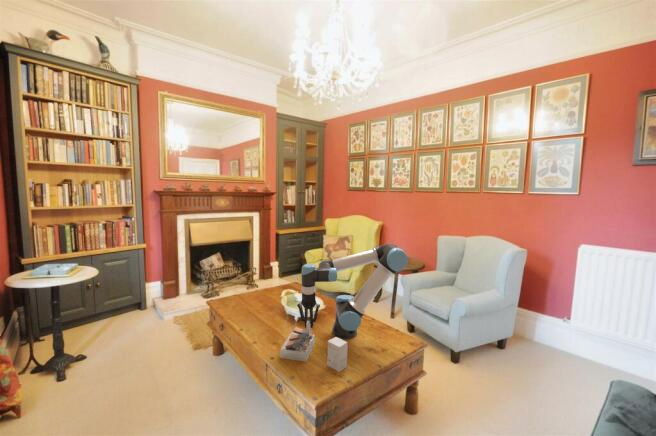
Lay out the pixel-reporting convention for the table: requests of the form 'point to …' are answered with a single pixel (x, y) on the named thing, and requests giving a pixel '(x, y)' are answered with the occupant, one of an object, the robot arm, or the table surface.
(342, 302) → the robot arm
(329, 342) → the small box
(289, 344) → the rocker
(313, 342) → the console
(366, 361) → the table surface
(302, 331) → the rocker
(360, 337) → the table surface
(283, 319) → the table surface
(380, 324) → the table surface
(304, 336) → the rocker
